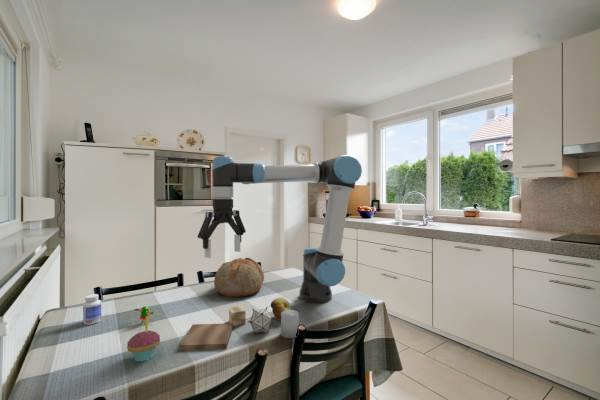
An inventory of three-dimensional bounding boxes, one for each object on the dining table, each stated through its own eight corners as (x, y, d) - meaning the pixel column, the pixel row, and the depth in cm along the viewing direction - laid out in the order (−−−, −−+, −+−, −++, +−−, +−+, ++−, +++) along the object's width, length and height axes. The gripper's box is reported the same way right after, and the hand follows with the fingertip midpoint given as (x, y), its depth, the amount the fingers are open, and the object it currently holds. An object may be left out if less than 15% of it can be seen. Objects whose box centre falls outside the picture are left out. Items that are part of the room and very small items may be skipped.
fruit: (275, 325, 105) (275, 303, 104) (266, 316, 112) (267, 296, 112) (293, 321, 108) (293, 300, 108) (284, 312, 115) (284, 293, 115)
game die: (263, 344, 98) (267, 329, 92) (242, 333, 100) (244, 318, 94) (275, 322, 105) (279, 307, 99) (254, 312, 107) (257, 296, 101)
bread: (228, 279, 159) (228, 253, 159) (269, 282, 156) (269, 254, 155) (206, 296, 133) (206, 264, 132) (255, 300, 129) (255, 267, 129)
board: (232, 327, 102) (232, 323, 102) (226, 348, 89) (226, 343, 89) (192, 328, 101) (192, 324, 101) (179, 350, 87) (179, 345, 87)
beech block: (242, 318, 110) (242, 305, 110) (245, 324, 105) (245, 310, 105) (228, 321, 108) (229, 307, 108) (231, 326, 103) (231, 313, 103)
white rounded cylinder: (297, 329, 102) (297, 309, 101) (299, 337, 96) (299, 317, 96) (280, 329, 101) (280, 310, 101) (281, 338, 95) (281, 317, 95)
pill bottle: (104, 320, 107) (104, 294, 107) (90, 326, 102) (89, 299, 102) (94, 317, 109) (94, 292, 109) (79, 323, 104) (79, 297, 104)
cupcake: (136, 349, 87) (136, 310, 87) (165, 348, 88) (165, 310, 88) (121, 366, 79) (121, 323, 79) (153, 365, 79) (153, 322, 79)
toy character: (145, 333, 98) (145, 314, 98) (120, 327, 102) (120, 308, 102) (170, 320, 108) (170, 303, 108) (147, 315, 113) (147, 298, 112)
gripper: (241, 197, 120) (242, 248, 121) (187, 198, 100) (187, 258, 101) (254, 198, 116) (254, 250, 116) (199, 198, 96) (199, 262, 96)
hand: (223, 254), depth 109 cm, fingers open, 13 cm apart
